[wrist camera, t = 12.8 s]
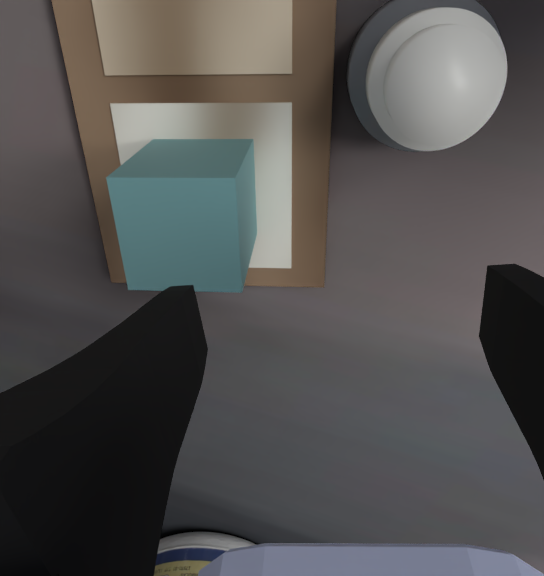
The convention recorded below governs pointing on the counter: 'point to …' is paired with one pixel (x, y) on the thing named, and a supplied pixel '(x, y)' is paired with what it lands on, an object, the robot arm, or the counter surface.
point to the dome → (436, 78)
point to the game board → (212, 106)
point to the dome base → (365, 42)
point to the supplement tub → (193, 552)
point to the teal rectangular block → (186, 214)
